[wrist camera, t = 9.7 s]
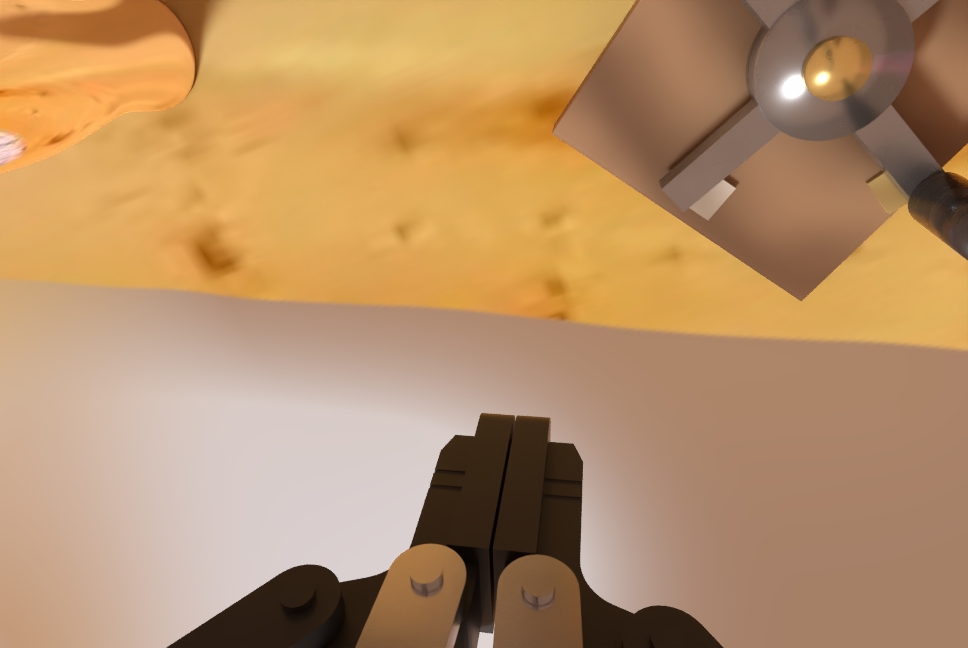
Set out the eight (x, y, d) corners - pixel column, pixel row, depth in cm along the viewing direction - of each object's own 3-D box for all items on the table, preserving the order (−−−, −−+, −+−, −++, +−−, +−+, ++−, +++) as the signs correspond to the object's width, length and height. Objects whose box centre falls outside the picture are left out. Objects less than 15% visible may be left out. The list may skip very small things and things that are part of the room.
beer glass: (154, -45, 32) (-150, -57, 19) (228, 90, 34) (8, 161, 22) (58, 12, 34) (-274, 36, 21) (135, 135, 37) (-116, 223, 24)
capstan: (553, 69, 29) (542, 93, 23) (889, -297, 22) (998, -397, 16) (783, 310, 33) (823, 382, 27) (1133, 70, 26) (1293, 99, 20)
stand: (814, -286, 24) (834, -310, 22) (1118, -29, 26) (1161, -29, 24) (549, 121, 33) (546, 131, 31) (794, 287, 35) (806, 306, 33)
